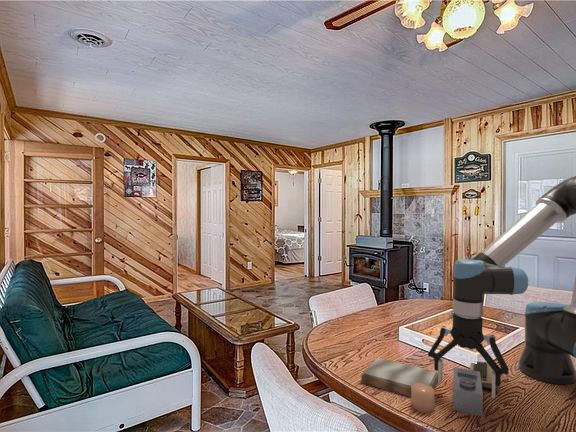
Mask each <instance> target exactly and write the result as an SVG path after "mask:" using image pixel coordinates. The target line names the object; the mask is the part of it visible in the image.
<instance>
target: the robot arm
mask: <svg viewBox="0 0 576 432" xmlns="http://www.w3.org/2000/svg"><path fill="white" fill-rule="evenodd" d="M573 215H576V176H572V177H569V178H566V179H565V180H562V181H561V182H559V183H558V184H557V185H555V186H553V187H552V188H551V189H549V190H548V191H547V192H545V193H544V194H543V195H542V196H540V197H539V198H538V199H537V200H536V202H535V206H534V207H533V208H532V209H530V210H529V211H528V212H527V213H525V214H524V215H523V216H522V217H521V218H519V219H518V220H517V221H516V222H515V223H514V224H513V225H511V226H510V227H509V228H507V229H506V230H505V231H504V232H503V233H501V234H500V235H499V236H498V237H496V239H494V240H493V241H492V242H491V243H489V244H488V245H487V246H486V247H484V248H483V250H481V251H480V252H479V253H478V254H477V255H475V256H474V257H473V258H471V257H469V258H464V259H462V258H461V259H456V261H454V265H453V273H452V276H453V287H452V288H453V291H452V292H453V293H452V294H453V295H452V296H453V297H452V312H453V313H452V328H451V329H450V328H447V327H446V326H445V325H442V326H441V328H440V330H439V335H438V337H437V338H436V340H435V342H434V343H433V345H432V347H431V348H430V349H429V351H428V353H427V356H428V357H429V358H432V359H433V360H434V363H433V364H434V367H433V368H434V371H436V372H437V373H438V382H437V384H439V385H441V384H442V382H443V365H444V363H443V362H444V360H443V359H444V358H443V357H444V356H445V355H446V354H447V353H448V352H450V351H451V350H452V349H454V348H455V347H456V346H458V347H460V348H462V349H463V348H466V349H469V350H476V352H478V354H480V356H481V357H482V358H483V359H484V360H485V362H487V363H488V364H489V366H490V367H491V368H492V369H493V372H492V392H491V398H492V399H496V393H495V385H496V386H499V387H500V386H501V379H502V378H501V375H509V366H508V365H507V363H506V361H505V359H504V357H503V355H502V353H501V351H500V349H499V347H498V345H497V342H496V340H497V339H496V336H495V335H494V334H491V335H484V334H483V318H482V316H483V314H484V313H483V312H484V311H483V310H484V295H510V296H513V295H521V294H524V293H525V292H526V291H527V290H528V287H529V277H528V275H527V273H526V272H525V270H523V268H520V267H513V266H509V267H508V266H507V267H505V266H506V265H507V264H508V263H510V262H511V261H512V260H513V259H514V258H516V256H518V255H519V254H520V253H521V252H523V251H524V250H525V249H526V248H527V247H529V246H530V245H531V244H532V243H533V242H535V241H536V240H537V239H538V238H540V236H542V235H543V234H544V233H546V232H547V231H548V230H549V229H550V228H552V226H554V225H555V224H556V223H559V222H564V221H566V219H568V218H569V217H571V216H573ZM524 315H525V316H524V317H525V318H524V319H525V320H524V322H525V324H524V326H525V327H524V329H525V331H524V333H525V337H524V338H525V339H524V340H525V342H524V343H525V344H524V345H525V346H524V348H523V350H522V352H521V355H520V357H519V359H518V369H519V370H520V371H521V372H522V373H523V374H524V375H527V376H529V377H531V378H533V379H536V380H538V381H542V382H545V383H551V384H555V385H571V384H574V383H576V368H575V365H574V362H573V360H572V357H573V358H575V359H576V275H575V277H574V282H573V290H572V294H571V302H570V304H569V305H568V304H564V303H559V302H551V301H550V302H548V301H533V302H529V303H527V304H526V305H525V312H524ZM449 334H450V335H451V337H452V338H453V339H452V340H451V341H449V342H448V344H446V345H445V346H444V347H443V348H442V349H440V350H439V351H438V352H436V350H437V349H438V348H439V346H440V344H441V342H443V341H442V340H444V337H447V336H448V335H449ZM484 341H485V342H486V343H487V344H488V345H490V349H491V350H492V353H493V355H494V356H495V359H496V361H497V363H496V361H495V360H494V358H492V356H491V355H490V354H489V353H488V351H487V350H486V349H485V347H484V345H483V344H482V343H483V342H484ZM571 356H572V357H571ZM498 364H499V365H498Z"/></svg>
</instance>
